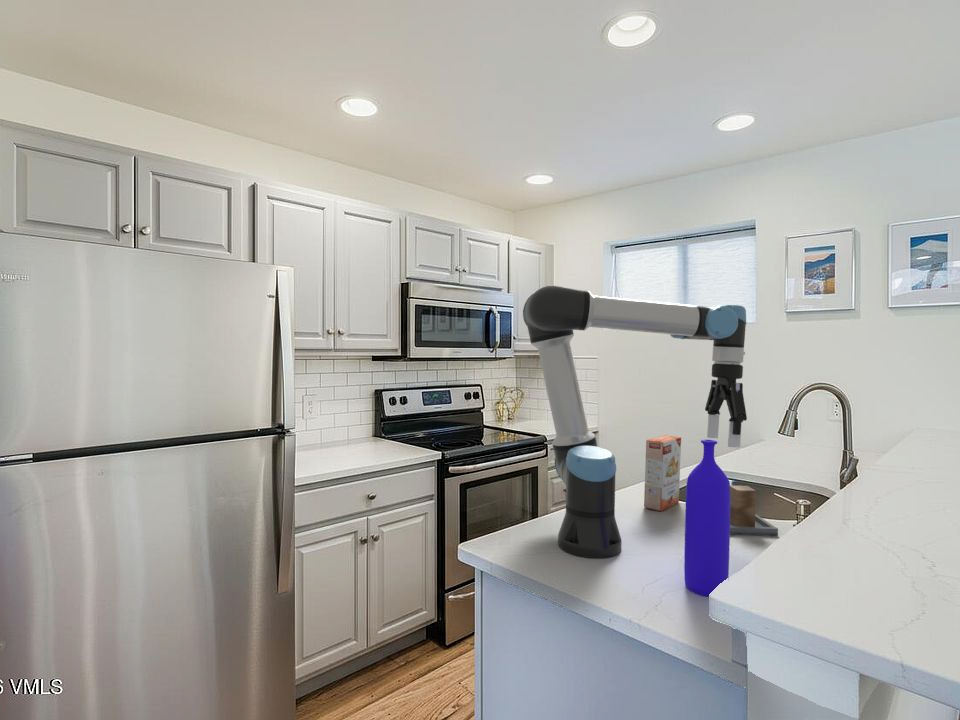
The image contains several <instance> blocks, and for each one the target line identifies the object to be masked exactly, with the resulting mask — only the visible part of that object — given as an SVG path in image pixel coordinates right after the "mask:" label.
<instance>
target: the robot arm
mask: <svg viewBox="0 0 960 720" xmlns="http://www.w3.org/2000/svg"><path fill="white" fill-rule="evenodd" d="M522 318H523V322H524V323H525V326H527V327H526V328H527V332H528V336H529V340H530V344H531V345H532V346H533V347H534V348H536V349H537V351H538V356H539V360H540V364H541V369H542V374H543V379H544V384H545V388H546V393H547V398H548V402H549V407H550V411H551V416H552V417H551V418H552V421H553V427H554V430H555V431H554V432H555V438H554V439H553V441H552V442H551V443H552V449H553V453H554V469H555V472H556V473H557V475H558V477H559V478H560V479H561V480H562V482H563V483H564V484H565V490H566V491H565V514H564V515H563V516H564V517H563V520H562V523H561V526H560V528H559V531H558V534H557V537H558V538H557V545H558V547H559V548H560V549H561V550H563V551H565V552H567V553H569V554H571V555H575V556H579V557H584V558H595V559H599V558H600V559H601V558H610V557H613V556H616V555H618V554H620V552H622V542H623V541H622V537H621V536H622V535H621V534H620V533H621V532H620V529H619V528H618V524H617V520H616V517H615V516H616V515H615V513H616V512H615V507H616V503H615V502H616V474H617V473H616V472H617V465H616V458H615V455H614V454H613V452H611V451H610V450H608V449H606V448H602V447H601V446H598V442H597V437H596V434H595V433H594V432H592V431H590V430H589V428H588V423H587V419H586V412H585V409H584V404H583V399H582V393H581V390H580V384H579V381H578V375H577V371H576V367H575V366H576V365H575V362H574V356H573V353H572V351H573V350H572V347H571V341H572V339H573V338H574V335H575V333H574V330H575V331H586V330H587V329H589V328H595V329H596V328H597V329H609V330H620V331H630V332H641V333H652V334H664V335H669V336H670V337H671V338H673V339H681V340H702V341H703V340H704V341H705V340H706V341H707V340H708V341H712V342H713V344H712V346H713V347H712V355H711V356H712V358H711V360H712V362H713V364H712V365H711V377H713V378H717V379H712V380H711V382H710V383H711V384H710V390H709V393H708V397H707V401H706V404H705V409H704V410H705V412H707V414H708V416H707V418H708V419H707V433H706V435H707V436H706V438H707V439H719V426H720V415H721V412H720V409H721V407H722V405H723V404H724V401H726V405H727V409H728V412H729V416H730V418H729V420H728V422H729V423H728V424H729V426H728V427H729V428H728V440H727V442H728V443H727V447H728V448H741V437H742V435H741V434H742V423H743V422H744V421H747V420H748V419H747V411H746V405H745V399H744V390H743V388H744V387H743V386H744V385H743V383H742V382H737V380H741V379H742V378H743V376H744V375H743V373H744V366H743V365H742V363H743V362H744V356H745V354H746V351H745V339H746V338H745V337H746V326H747V310H746V308H745V307H744V306H743V305H737V304H722V305H721V304H720V305H717V306H702V305H692V304H683V303H681V304H680V303H671V302H664V301H663V302H661V301H660V302H659V301H651V300H641V299H640V300H639V299H633V298H632V299H630V298H620V297H618V298H617V297H608V296H599V295H593V294H592V292H591V291H590V290H581V289H575V288H569V287H564V286H557V285H546V286H542V287H541V288H539V289H538V290H536V291H535V292H534V293H532V294H531V295H530V296H529V297H528V298H527V299H526V300H525V303H524V304H523V309H522Z"/></svg>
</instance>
